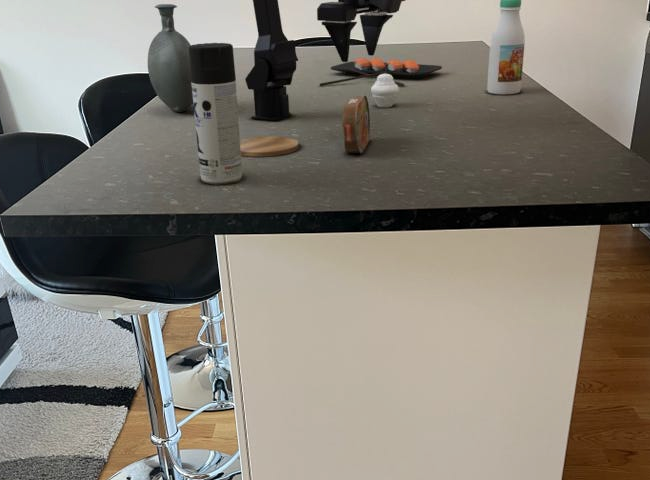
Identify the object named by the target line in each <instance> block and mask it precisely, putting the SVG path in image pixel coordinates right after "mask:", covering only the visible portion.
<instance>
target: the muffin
mask: <svg viewBox="0 0 650 480" xmlns="http://www.w3.org/2000/svg"><path fill="white" fill-rule="evenodd" d="M394 81H395V80H394V78H393V77H392V76H391V75H390V74H386V73H384V74H381V75H379V76H378V77H377V78H376V81H375V82H374V84H373V85H372V86H371V88H370V92H371V96H372V98H373V100H374V102H375V104H376V106H377V107H379V108H391V107H393V105H394V103H395V101H396V98H397V97H398V93H399V92H400V87H399V85H397V84H395V82H394Z"/></svg>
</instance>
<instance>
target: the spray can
mask: <svg viewBox="0 0 650 480" xmlns="http://www.w3.org/2000/svg"><path fill="white" fill-rule="evenodd" d="M190 45H191V46H189V59H190V72H191V83H192V94H193V104H192V105H193V113H194V123H195V133H196V143H197V144H196V146H197V155H198V164H199V165H198V166H199V174H200V180H201V181H202V182H203V183H205V184H209V185H229V184H233V183H237V182H238V181H240V180H241V179H243V165H242V155H241V149H240V140H241V137H240V136H241V135H240V123H239V108H238V94H237V78H236V69H235V67H236V65H235V57H234V56H235V55H234V46H233V44H232V43H228V42H211V43H209V42H205V43H195V44H190Z"/></svg>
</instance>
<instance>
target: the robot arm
mask: <svg viewBox="0 0 650 480" xmlns="http://www.w3.org/2000/svg"><path fill="white" fill-rule="evenodd" d="M402 2H406V0H337V1H327V2H321V3H320V4H319V6H318V7H317V8H316V20H317V21H319V22H321V26H324V27H325V29H326V32H327V33H328V35H329V37H330V39H331V40H332V43H333V45H334V47H335V49H336V52H337V54H338V56H339V58H340V61H341V62H342V63H347V62H349V57H350V56H349V55H350V45H351V32H352V30H353V29H354V28H355V26H356V25H357V23H358V22H357V21H355V20H356V17H357V15H359V18H360V19H359V20H360V24H361V29H362V33H363V34H362V35H363V39H364V44H365V48H366V52H367V55H368V56H375V52H376V50H377V46H378V42H379V39H380V36H381V33H382V30H383V28H384V26H385V24H386V23H387V22H388V21H389V20H391V19H392V18H393V17H394V14H395V13H398V12H400V8H401V6H402ZM252 4H253V11H254V17H255V22H256V29H257V40H256V43H255V46H254V50H253V56H254V57H253V61H254V65H253V67H252V68H251V70H250V71H249V73H248V74H247V76H246V77H245V79H244V80H245V84H246V87H247V90H250V91H251V90H252V92H253V105H254V115H251V116H250V119H251V120H263V121H273V122H274V121H280V120H283V119H285V118H287V117H290V116H292V112H290V102H289V100H290V97H289V94H288V93H287V86H291V85H292V81H293V78H294V73H295V72H296V70H297V62H298V61H299V58H298V56H297V51H296V42H295V40H294V39H288V37H287V36H286V35H285V32H284V30H283V26H282V24H283V23H282V18H281V13H280V5H279V0H252Z"/></svg>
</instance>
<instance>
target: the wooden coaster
mask: <svg viewBox="0 0 650 480" xmlns="http://www.w3.org/2000/svg"><path fill="white" fill-rule="evenodd" d="M240 149H241V156H244V157H256V158H265V157H266V158H267V157H277V156H283V155H287V154H290V153H294V152H296V151H297V150H298V149H299V141H298V140H296V139H295V138H291V137H285V136H257V137H249V138H244V139H240Z"/></svg>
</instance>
